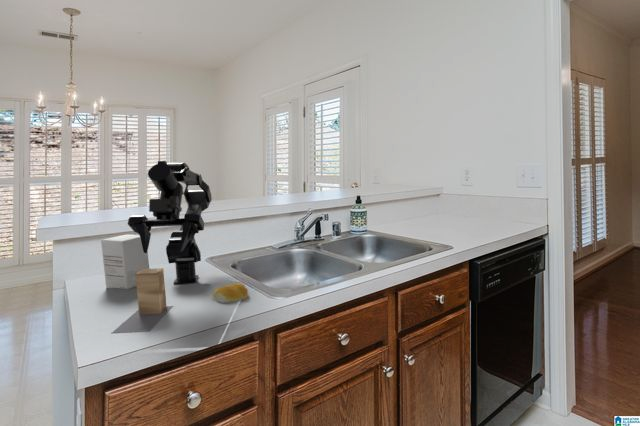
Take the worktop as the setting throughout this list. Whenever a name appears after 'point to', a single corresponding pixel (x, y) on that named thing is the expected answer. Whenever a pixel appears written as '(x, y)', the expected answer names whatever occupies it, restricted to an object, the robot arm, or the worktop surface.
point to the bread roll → (230, 293)
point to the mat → (141, 322)
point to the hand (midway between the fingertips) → (162, 251)
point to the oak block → (151, 291)
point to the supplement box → (123, 260)
